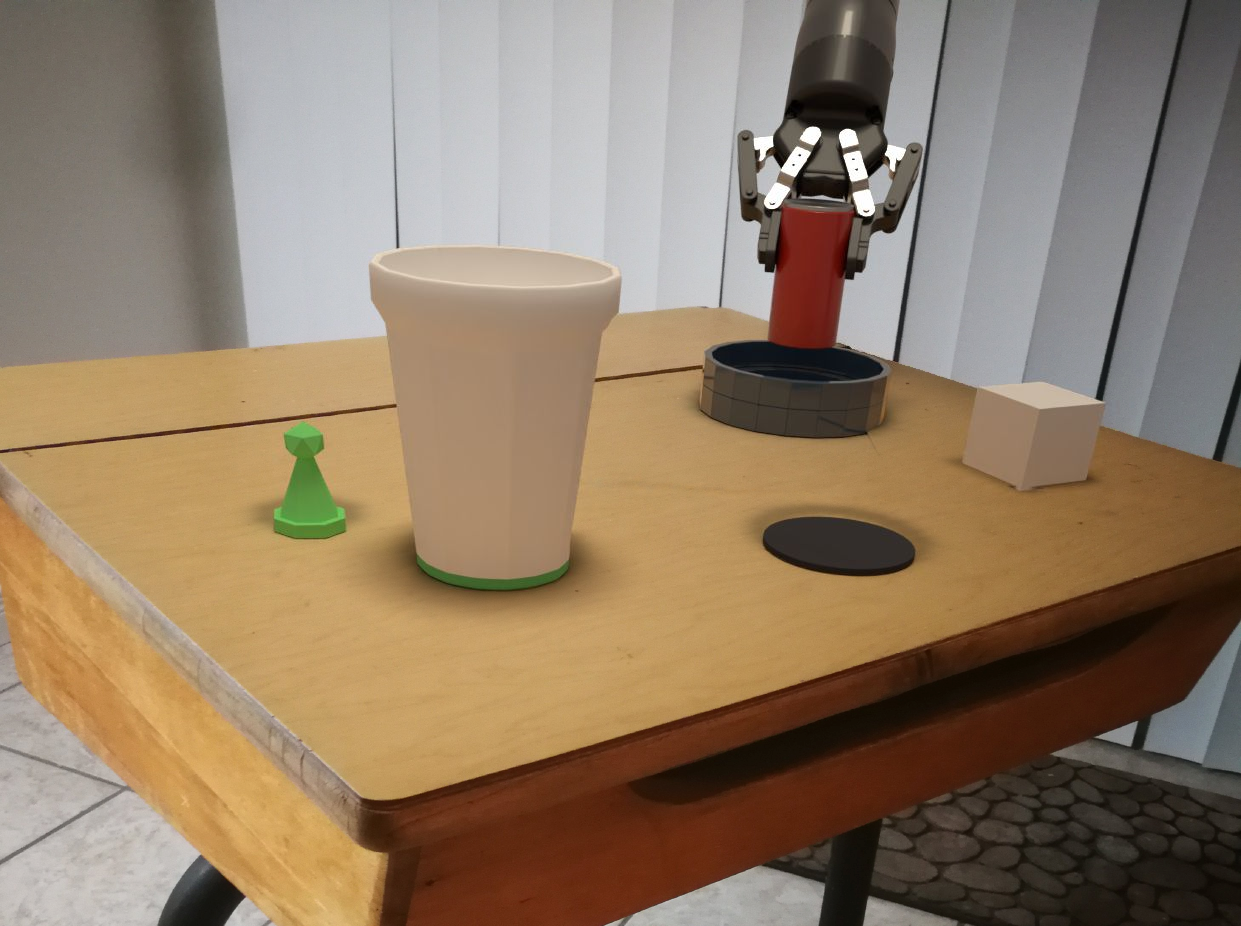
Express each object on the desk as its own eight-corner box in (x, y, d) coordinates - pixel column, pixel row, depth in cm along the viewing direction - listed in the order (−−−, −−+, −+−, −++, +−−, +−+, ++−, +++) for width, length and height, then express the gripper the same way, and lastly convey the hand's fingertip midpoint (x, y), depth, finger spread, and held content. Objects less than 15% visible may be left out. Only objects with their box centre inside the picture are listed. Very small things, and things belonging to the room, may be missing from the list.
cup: (453, 622, 65) (451, 294, 57) (340, 545, 73) (324, 248, 65) (650, 579, 71) (674, 279, 63) (526, 513, 80) (532, 239, 71)
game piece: (360, 532, 75) (355, 427, 72) (289, 543, 73) (281, 435, 70) (329, 510, 78) (324, 407, 75) (260, 520, 76) (251, 415, 73)
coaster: (900, 527, 81) (901, 521, 81) (927, 579, 74) (928, 573, 74) (756, 518, 81) (757, 512, 81) (769, 570, 74) (770, 563, 73)
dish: (865, 402, 108) (875, 346, 106) (894, 451, 96) (905, 388, 94) (695, 392, 108) (700, 334, 105) (703, 439, 96) (709, 375, 93)
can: (831, 336, 101) (849, 200, 96) (840, 350, 97) (860, 209, 91) (764, 332, 101) (779, 196, 96) (770, 346, 96) (786, 205, 91)
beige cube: (1083, 491, 90) (1106, 402, 87) (1018, 500, 88) (1040, 409, 84) (1022, 466, 95) (1042, 380, 91) (959, 473, 92) (977, 386, 89)
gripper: (746, 25, 95) (710, 225, 92) (946, 37, 93) (916, 242, 90) (746, 105, 102) (712, 293, 99) (931, 117, 100) (903, 310, 97)
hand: (810, 268), depth 94 cm, fingers closed on can, 5 cm apart
